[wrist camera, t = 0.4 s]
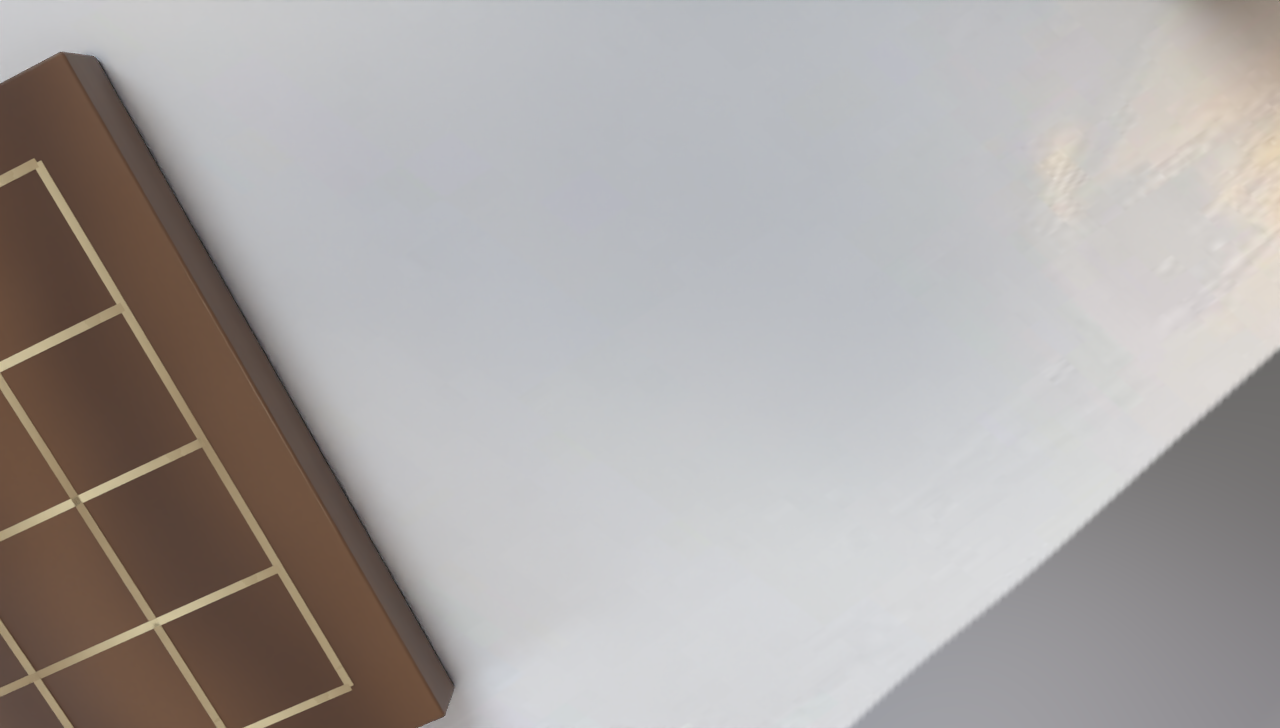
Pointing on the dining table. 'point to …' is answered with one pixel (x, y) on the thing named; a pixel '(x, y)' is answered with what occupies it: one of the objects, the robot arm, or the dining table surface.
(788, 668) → the dining table surface
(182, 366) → the board
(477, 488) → the dining table surface
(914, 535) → the dining table surface
